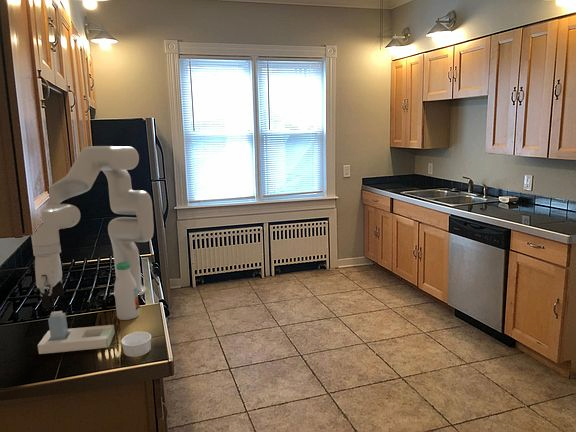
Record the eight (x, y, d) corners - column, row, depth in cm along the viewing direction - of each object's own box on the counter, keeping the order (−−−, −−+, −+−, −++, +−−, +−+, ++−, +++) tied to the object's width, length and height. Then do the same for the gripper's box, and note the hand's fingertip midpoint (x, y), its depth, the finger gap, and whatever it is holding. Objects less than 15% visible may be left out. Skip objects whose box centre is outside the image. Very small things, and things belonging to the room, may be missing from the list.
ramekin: (156, 352, 145) (154, 339, 144) (126, 361, 140) (125, 348, 139) (147, 341, 152) (146, 329, 151) (119, 349, 148) (118, 336, 147)
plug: (56, 342, 153) (51, 310, 150) (69, 341, 153) (64, 309, 151) (52, 348, 149) (47, 315, 146) (65, 347, 150) (61, 314, 147)
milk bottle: (132, 321, 167) (127, 267, 162) (113, 320, 168) (106, 266, 164) (143, 312, 174) (138, 260, 170) (124, 311, 176) (118, 259, 171)
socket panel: (49, 338, 155) (48, 330, 155) (114, 332, 158) (113, 324, 158) (38, 354, 146) (37, 345, 145) (108, 347, 149) (107, 338, 148)
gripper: (43, 242, 152) (49, 292, 155) (22, 257, 135) (30, 313, 138) (68, 241, 153) (74, 291, 156) (50, 256, 136) (57, 311, 140)
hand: (53, 301), depth 147 cm, fingers open, 9 cm apart
